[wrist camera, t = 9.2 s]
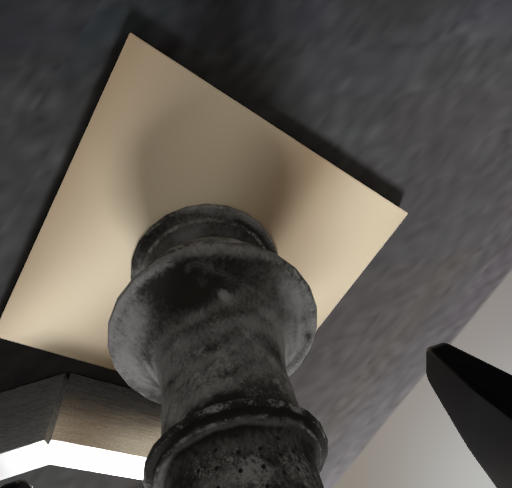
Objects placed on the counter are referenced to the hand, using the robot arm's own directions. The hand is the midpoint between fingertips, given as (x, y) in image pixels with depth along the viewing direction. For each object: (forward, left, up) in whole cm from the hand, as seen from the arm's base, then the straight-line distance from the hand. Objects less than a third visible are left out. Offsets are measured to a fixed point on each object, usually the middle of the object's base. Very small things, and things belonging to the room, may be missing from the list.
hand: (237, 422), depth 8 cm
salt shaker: (0, 0, -7) cm, 7 cm away
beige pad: (0, 0, -7) cm, 7 cm away
